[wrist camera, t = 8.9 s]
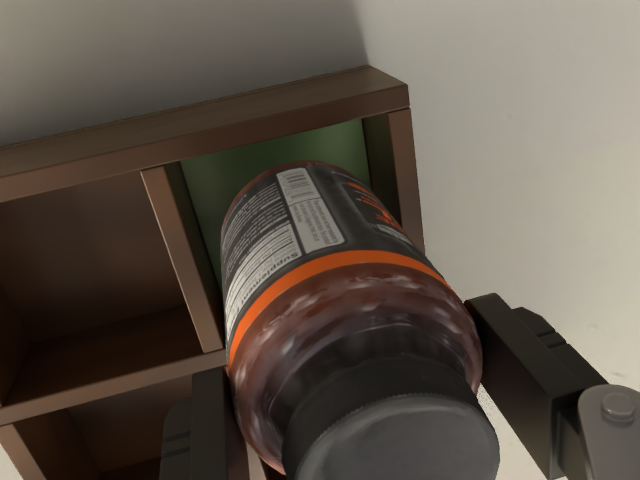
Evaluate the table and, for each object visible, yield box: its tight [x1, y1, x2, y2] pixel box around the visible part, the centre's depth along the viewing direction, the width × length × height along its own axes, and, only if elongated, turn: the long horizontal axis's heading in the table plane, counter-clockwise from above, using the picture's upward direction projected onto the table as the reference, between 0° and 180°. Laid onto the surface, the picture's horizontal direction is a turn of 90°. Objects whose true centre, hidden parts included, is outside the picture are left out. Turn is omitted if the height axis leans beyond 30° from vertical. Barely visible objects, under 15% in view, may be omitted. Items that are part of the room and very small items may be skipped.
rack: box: [0, 65, 425, 480], centre depth 23 cm, size 17×17×5 cm
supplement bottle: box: [221, 160, 500, 480], centre depth 15 cm, size 6×6×11 cm
